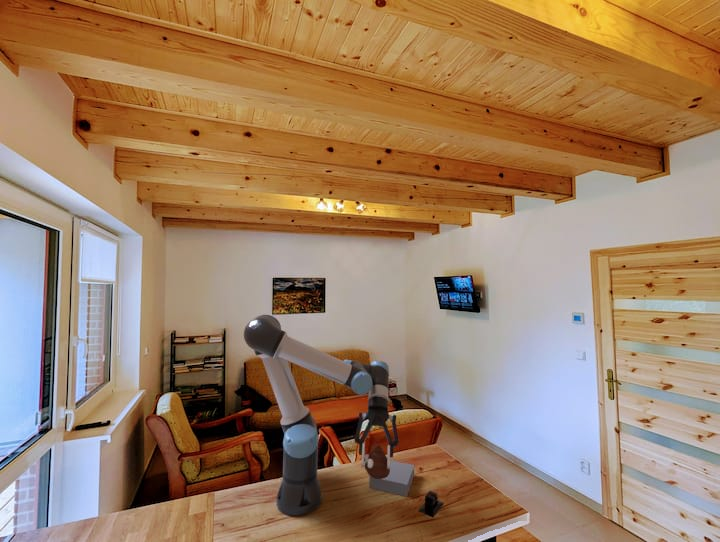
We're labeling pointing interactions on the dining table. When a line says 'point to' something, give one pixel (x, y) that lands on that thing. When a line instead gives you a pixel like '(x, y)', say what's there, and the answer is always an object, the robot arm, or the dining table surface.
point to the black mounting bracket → (431, 504)
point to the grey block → (395, 479)
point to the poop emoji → (376, 463)
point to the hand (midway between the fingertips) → (375, 466)
